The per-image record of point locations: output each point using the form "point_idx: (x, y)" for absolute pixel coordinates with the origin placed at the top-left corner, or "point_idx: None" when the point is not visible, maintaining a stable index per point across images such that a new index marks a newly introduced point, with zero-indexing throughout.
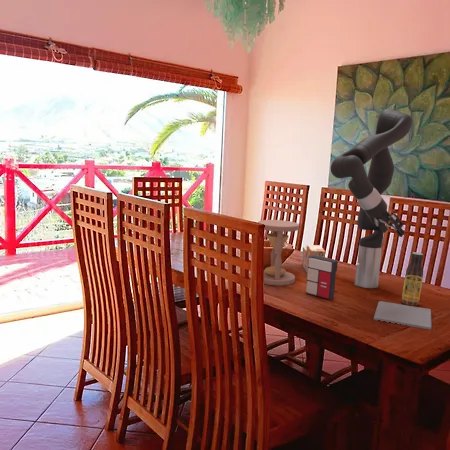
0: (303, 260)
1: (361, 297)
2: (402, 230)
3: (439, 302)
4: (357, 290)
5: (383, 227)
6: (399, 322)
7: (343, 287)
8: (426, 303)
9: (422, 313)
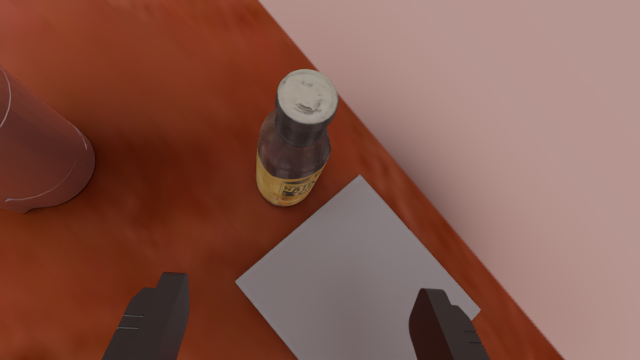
0: None
1: None
2: (481, 351)
3: None
4: (80, 250)
5: (170, 347)
6: None
7: (17, 281)
8: None
9: (382, 233)
